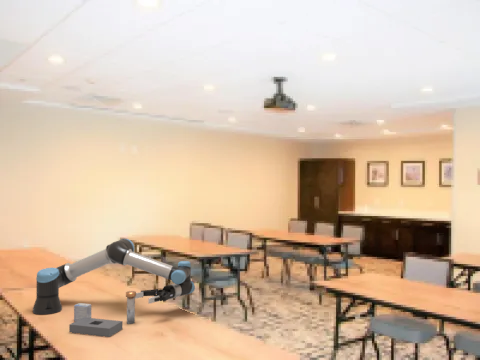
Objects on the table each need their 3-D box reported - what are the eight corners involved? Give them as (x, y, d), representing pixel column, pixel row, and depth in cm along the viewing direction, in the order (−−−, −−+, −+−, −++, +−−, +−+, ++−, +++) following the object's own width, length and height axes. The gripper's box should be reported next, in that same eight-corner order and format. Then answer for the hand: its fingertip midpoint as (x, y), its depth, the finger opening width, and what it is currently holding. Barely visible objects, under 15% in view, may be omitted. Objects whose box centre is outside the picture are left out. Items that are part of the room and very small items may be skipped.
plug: (123, 324, 229) (123, 293, 229) (128, 321, 234) (129, 290, 234) (132, 324, 228) (133, 293, 228) (137, 321, 233) (137, 291, 233)
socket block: (69, 332, 215) (69, 324, 215) (84, 325, 227) (84, 317, 227) (109, 337, 209) (109, 328, 209) (122, 329, 221) (122, 321, 221)
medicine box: (91, 320, 235) (91, 304, 235) (86, 322, 230) (86, 306, 231) (78, 319, 237) (79, 302, 237) (73, 321, 233) (73, 305, 233)
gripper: (186, 301, 243) (155, 310, 227) (157, 294, 259) (127, 301, 243) (186, 288, 243) (155, 295, 227) (157, 281, 259) (127, 287, 243)
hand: (140, 298), depth 235 cm, fingers open, 13 cm apart
